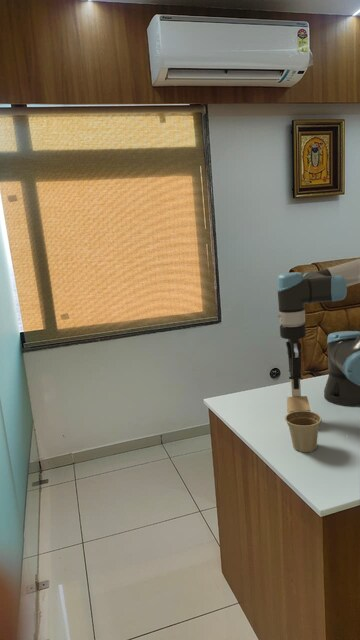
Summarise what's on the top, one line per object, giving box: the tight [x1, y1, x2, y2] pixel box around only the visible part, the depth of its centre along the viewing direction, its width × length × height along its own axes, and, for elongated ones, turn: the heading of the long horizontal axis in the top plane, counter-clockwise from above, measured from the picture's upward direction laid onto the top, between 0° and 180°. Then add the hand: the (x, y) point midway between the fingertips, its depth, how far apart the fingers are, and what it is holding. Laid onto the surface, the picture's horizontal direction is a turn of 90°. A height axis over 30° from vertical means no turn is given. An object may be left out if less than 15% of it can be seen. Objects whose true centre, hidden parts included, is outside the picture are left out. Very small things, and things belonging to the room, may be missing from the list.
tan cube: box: [286, 395, 312, 414], centre depth 127 cm, size 6×6×6 cm
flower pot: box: [284, 411, 322, 453], centre depth 113 cm, size 9×9×9 cm
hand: (296, 397), depth 130 cm, fingers closed
